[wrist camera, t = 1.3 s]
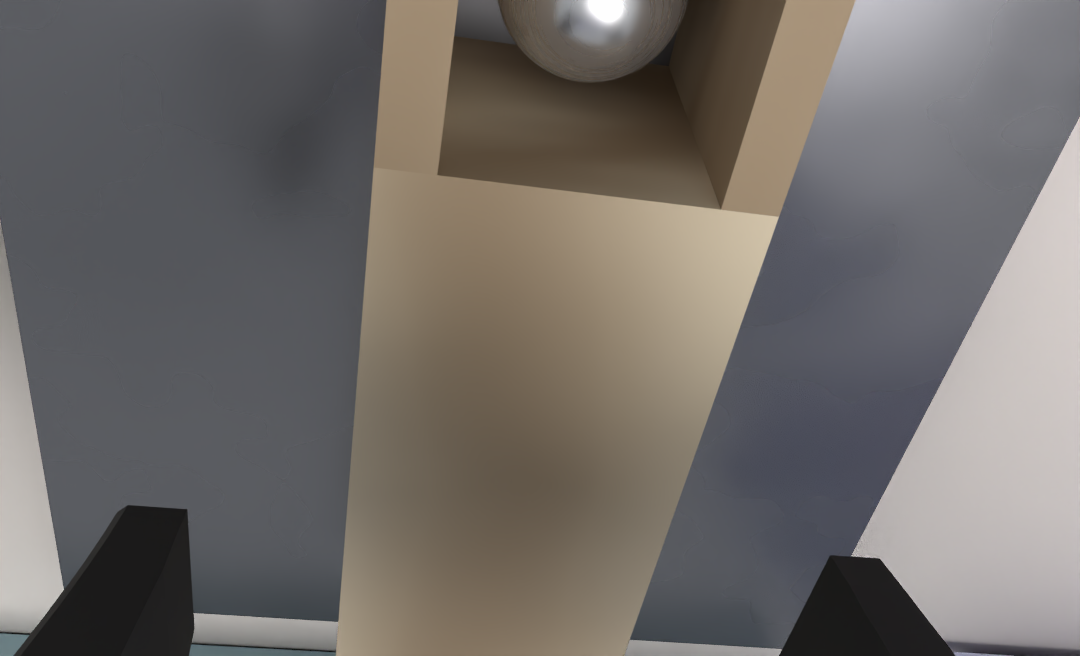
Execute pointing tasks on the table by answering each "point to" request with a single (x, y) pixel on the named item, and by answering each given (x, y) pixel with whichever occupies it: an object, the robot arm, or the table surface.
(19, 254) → the stud plate
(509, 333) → the strut
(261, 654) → the bin
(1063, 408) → the table surface
